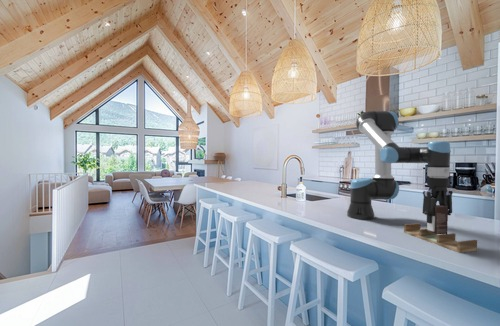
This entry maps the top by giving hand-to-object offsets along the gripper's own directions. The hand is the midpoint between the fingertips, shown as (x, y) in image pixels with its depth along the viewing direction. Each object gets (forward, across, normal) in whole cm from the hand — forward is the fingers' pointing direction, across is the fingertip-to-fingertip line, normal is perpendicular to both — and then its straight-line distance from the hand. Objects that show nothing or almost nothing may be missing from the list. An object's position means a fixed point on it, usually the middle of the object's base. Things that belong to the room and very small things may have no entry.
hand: (437, 229), depth 101 cm
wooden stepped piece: (+5, 0, 0) cm, 5 cm away
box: (+2, 0, 0) cm, 2 cm away
